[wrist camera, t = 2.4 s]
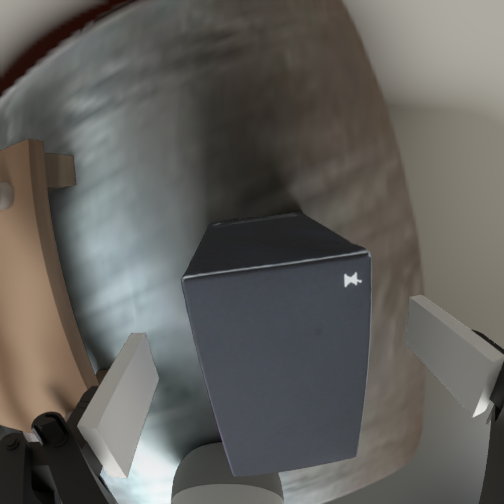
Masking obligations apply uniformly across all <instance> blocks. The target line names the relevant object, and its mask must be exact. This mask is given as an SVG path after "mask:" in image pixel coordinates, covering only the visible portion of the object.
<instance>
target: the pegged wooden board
mask: <svg viewBox="0 0 504 504" xmlns="http://www.w3.org/2000/svg"><path fill="white" fill-rule="evenodd" d="M74 185H76V178H75V168H74V157H73V156H70V155H61V154H51V153H44V142H43V141H39V140H33V139H27V140H24V141H22V142H19V143H17V144H14V145H12V146H10V147H7V148H5V149H3V150H0V425H2V426H6V427H9V428H13V429H17V430H21V431H25V432H29V433H33V431H32V430H31V424H32V422H33V420H34V419H35V418H36V417H37V416H39V415H41V414H43V413H45V412H50V411H51V412H57V413H60V414H61V415H62V416H63V418H64V420H65V421H66V422H67V420H68V418H69V417H70V415H71V413H72V412H73V410H74V408H75V409H76V405H77V403H78V402H79V400H80V399H81V397H82V395H83V394H84V392H86V391H87V390H88V389H89V388H90V387H92V386H100V384H101V383H102V381H103V379H104V377H105V376H106V374H107V372H108V371H109V370H98V372H97V373H96V375H95V373H94V371H93V368H92V366H91V363H90V360H89V358H88V355H87V352H86V350H85V347H84V344H83V341H82V338H81V335H80V332H79V329H78V326H77V323H76V320H75V317H74V313H73V310H72V307H71V303H70V300H69V296H68V293H67V289H66V285H65V281H64V277H63V273H62V269H61V265H60V260H59V256H58V251H57V246H56V241H55V236H54V230H53V224H52V218H51V212H50V205H49V198H48V191H54V190H58V189H62V188H66V187H70V186H74ZM33 434H34V433H33Z"/></svg>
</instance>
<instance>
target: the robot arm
mask: <svg viewBox="0 0 504 504" xmlns="http://www.w3.org/2000/svg"><path fill="white" fill-rule="evenodd" d="M405 344H406V345H407V346H408V347H409V348H410V349H411V351H412V352H413V353H414V354H415V355H416V356H417V357H418V358H419V359H420V360H421V361H422V362H423V363H424V364H425V365H426V367H427V368H428V369H429V370H430V371H431V372H432V373H433V374H434V375H435V376H436V377H437V379H438V380H439V381H440V382H441V383H442V384H443V385H444V386H445V387H446V388H447V390H448V391H449V392H450V393H451V394H452V395H453V396H454V397H455V398H456V400H457V401H458V402H459V403H460V404H461V405H462V406H463V407H464V409H465V410H466V411H467V412H468V413H469V414H470V416H471V417H474V416H477V415H479V414H480V413H482V412H484V411H485V410H486V408H487V405H488V403H489V401H490V400H491V401H492V402H493V403H494V406H493V408H492V411H491V413H490V415H489V417H488V419H487V422H486V424H488V423H489V421H490V420H491V430H490V440H489V449H488V458H487V464H486V471H485V477H484V482H483V487H482V492H481V496H480V501H479V504H504V349H502V348H501V347H500V346H498V345H497V344H496V343H495V344H494V342H493V341H492V340H490V339H489V338H488V337H486V336H485V335H484V334H482V333H480V332H478V331H475V330H470V329H469V328H468V327H466V326H465V325H463V324H462V323H461V322H459V321H458V320H457V319H455V318H454V317H453V316H451V315H450V314H448V313H447V312H446V311H444V310H443V309H441V308H440V307H438V306H437V305H436V304H434V303H433V302H431V301H430V300H428V299H427V298H426V297H424V296H423V295H418V296H414V297H410V300H409V312H408V322H407V331H406V339H405ZM158 381H159V377H158V373H157V370H156V367H155V364H154V360H153V357H152V354H151V350H150V347H149V343H148V340H147V336H146V333H131V335H130V336H129V338H128V339H127V341H126V343H125V344H124V346H123V347H122V349H121V351H120V352H119V354H118V356H117V357H116V359H115V361H114V362H113V364H112V366H111V367H110V369H109V371H108V372H107V374H106V376H105V377H104V379H103V381H102V383H101V384H100V386H92V387H90V388H89V389H88V390H87V391H86V392H84V394H83V395H82V397H81V399H80V400H79V402H78V403H77V405H76V409H75V408H74V410H73V412H72V413H71V415H70V417H69V418H68V420H67V422H66V421H65V420H64V418H63V416H62V415H61V414H60V413H57V412H51V411H50V412H45V413H43V414H41V415H39V416H37V417H36V418H35V419H34V420H33V422H32V424H31V430H32V431H33V433H34V434H35V436H36V437H37V439H38V440H39V442H28V441H27V440H26V438H25V437H24V436H23V434H22V432H21V430H17V429H13V428H9V427H6V426H2V425H0V504H61V501H62V503H63V504H118V503H117V501H116V500H115V498H114V497H113V495H112V493H111V492H110V490H109V488H108V487H107V485H106V483H105V482H104V480H103V478H102V477H101V476H100V473H101V470H102V467H103V468H104V470H105V471H106V473H107V474H108V475H109V476H112V477H119V478H128V474H129V471H130V467H131V464H132V461H133V458H134V454H135V451H136V448H137V445H138V441H139V438H140V435H141V432H142V429H143V426H144V423H145V420H146V416H147V413H148V410H149V407H150V404H151V401H152V398H153V395H154V392H155V390H156V387H157V384H158ZM60 498H61V499H60Z"/></svg>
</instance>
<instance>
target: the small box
mask: <svg viewBox="0 0 504 504" xmlns="http://www.w3.org/2000/svg"><path fill="white" fill-rule="evenodd" d="M181 285H182V289H183V294H184V298H185V303H186V308H187V312H188V316H189V320H190V325H191V329H192V333H193V337H194V341H195V346H196V350H197V354H198V357H199V361H200V365H201V369H202V373H203V376H204V380H205V384H206V387H207V391H208V395H209V398H210V402H211V405H212V409H213V412H214V416H215V419H216V423H217V426H218V429H219V433H220V436H221V439H222V442H223V446H224V449H225V452H226V455H227V458H228V462H229V465H230V468H231V471H232V474H233V475H234V476H252V475H261V474H270V473H278V472H283V471H290V470H296V469H302V468H307V467H312V466H317V465H322V464H327V463H332V462H337V461H341V460H345V459H350V458H354V457H356V455H357V450H358V445H359V440H360V433H361V427H362V419H363V412H364V404H365V396H366V388H367V376H368V365H369V350H370V334H371V314H372V255H371V253H370V252H369V251H368V250H367V249H365V248H364V247H361V246H358V245H356V244H353V243H351V242H350V241H348V240H347V239H345V238H343V237H342V236H340V235H338V234H336V233H335V232H333V231H331V230H330V229H328V228H326V227H325V226H323V225H322V224H319V223H318V222H316V221H315V220H313V219H311V218H309V217H308V216H306V215H305V214H304V213H303V212H301V211H300V210H299V211H292V212H289V213H286V214H281V213H279V214H277V215H271V216H263V217H256V218H251V217H250V218H247V219H241V220H239V219H233V220H228V221H223V222H220V223H213V224H210V225H209V226H208V228H207V230H206V232H205V234H204V237H203V239H202V241H201V242H200V245H199V247H198V248H197V250H196V252H195V254H194V256H193V258H192V260H191V262H190V264H189V266H188V269H187V270H186V272H185V274H184V275H183V277H182V278H181Z"/></svg>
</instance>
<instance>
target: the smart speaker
mask: <svg viewBox="0 0 504 504" xmlns="http://www.w3.org/2000/svg"><path fill="white" fill-rule="evenodd" d="M171 504H284V497H283V491H282V485H281V481H280V477H279V475H278V473H270V474H261V475H252V476H234V475H233V474H232V471H231V468H230V465H229V462H228V458H227V455H226V452H225V449H224V446H223V442H219V443H211V444H207V445H203V446H200V447H198V448H196V449H194V450H192V451H191V452H190V453H188V454H187V455H186V456H185V457H184V458H183V460H182V461H181V462H180V464H179V466H178V468H177V470H176V473H175V476H174V480H173V486H172V496H171Z"/></svg>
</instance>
